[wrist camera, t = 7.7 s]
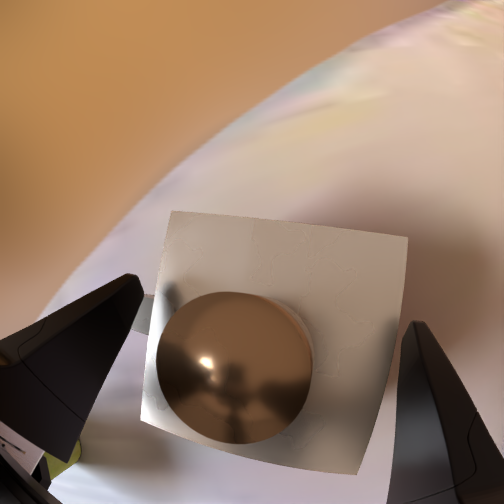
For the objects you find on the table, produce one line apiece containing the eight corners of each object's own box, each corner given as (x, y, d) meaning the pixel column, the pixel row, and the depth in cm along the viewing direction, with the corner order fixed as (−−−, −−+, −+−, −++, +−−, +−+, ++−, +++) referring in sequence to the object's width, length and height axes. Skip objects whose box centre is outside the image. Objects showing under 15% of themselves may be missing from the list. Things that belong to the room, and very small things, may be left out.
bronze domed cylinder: (311, 371, 14) (291, 459, 5) (244, 358, 15) (149, 416, 6) (323, 304, 14) (325, 305, 6) (256, 293, 15) (167, 279, 7)
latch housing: (346, 412, 14) (356, 475, 8) (176, 375, 17) (105, 402, 10) (374, 264, 16) (408, 237, 9) (198, 241, 18) (133, 208, 12)
